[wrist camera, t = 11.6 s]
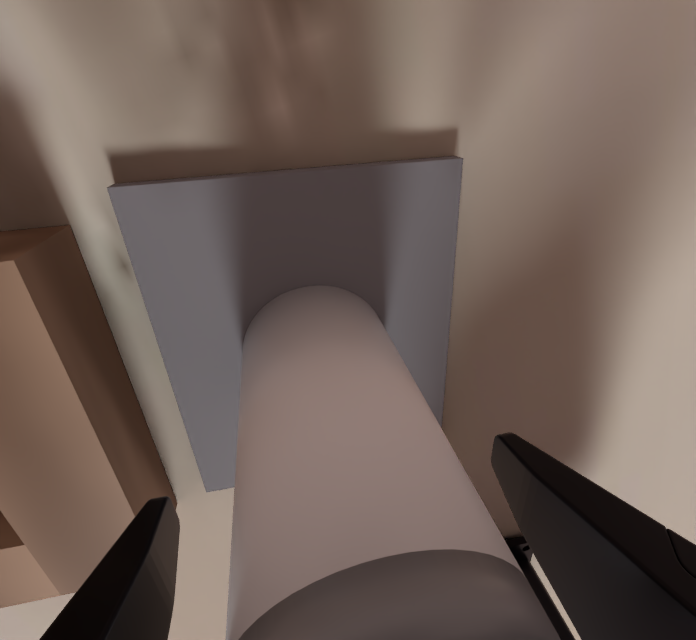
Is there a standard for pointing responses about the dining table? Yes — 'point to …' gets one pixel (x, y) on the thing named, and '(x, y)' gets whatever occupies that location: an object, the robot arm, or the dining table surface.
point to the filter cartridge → (356, 494)
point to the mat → (288, 271)
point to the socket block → (63, 422)
